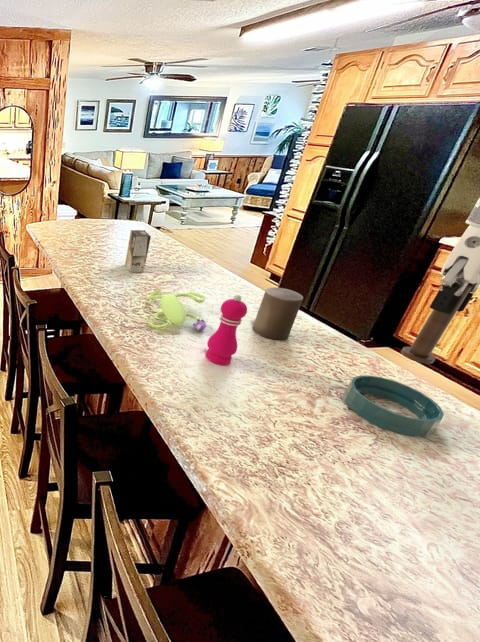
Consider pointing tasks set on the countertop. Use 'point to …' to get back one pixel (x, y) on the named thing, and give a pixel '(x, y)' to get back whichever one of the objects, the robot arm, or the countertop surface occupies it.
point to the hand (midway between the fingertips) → (446, 308)
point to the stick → (431, 334)
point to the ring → (399, 394)
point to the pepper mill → (226, 332)
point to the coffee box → (137, 250)
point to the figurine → (175, 310)
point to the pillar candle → (277, 313)
